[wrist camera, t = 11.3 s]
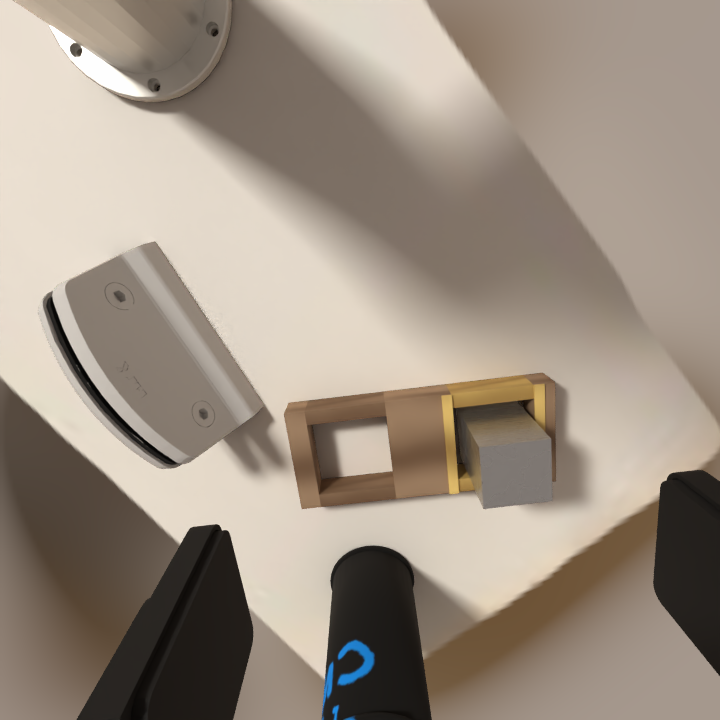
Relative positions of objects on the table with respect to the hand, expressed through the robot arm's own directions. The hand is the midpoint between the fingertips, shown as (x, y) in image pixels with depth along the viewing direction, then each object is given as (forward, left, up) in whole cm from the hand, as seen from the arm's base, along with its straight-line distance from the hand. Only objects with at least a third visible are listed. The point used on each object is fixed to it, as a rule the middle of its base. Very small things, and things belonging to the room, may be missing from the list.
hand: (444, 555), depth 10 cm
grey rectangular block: (+11, +8, -28) cm, 31 cm away
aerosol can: (+26, -4, -28) cm, 39 cm away
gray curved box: (+1, -18, -28) cm, 34 cm away
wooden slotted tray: (+11, +2, -28) cm, 30 cm away
